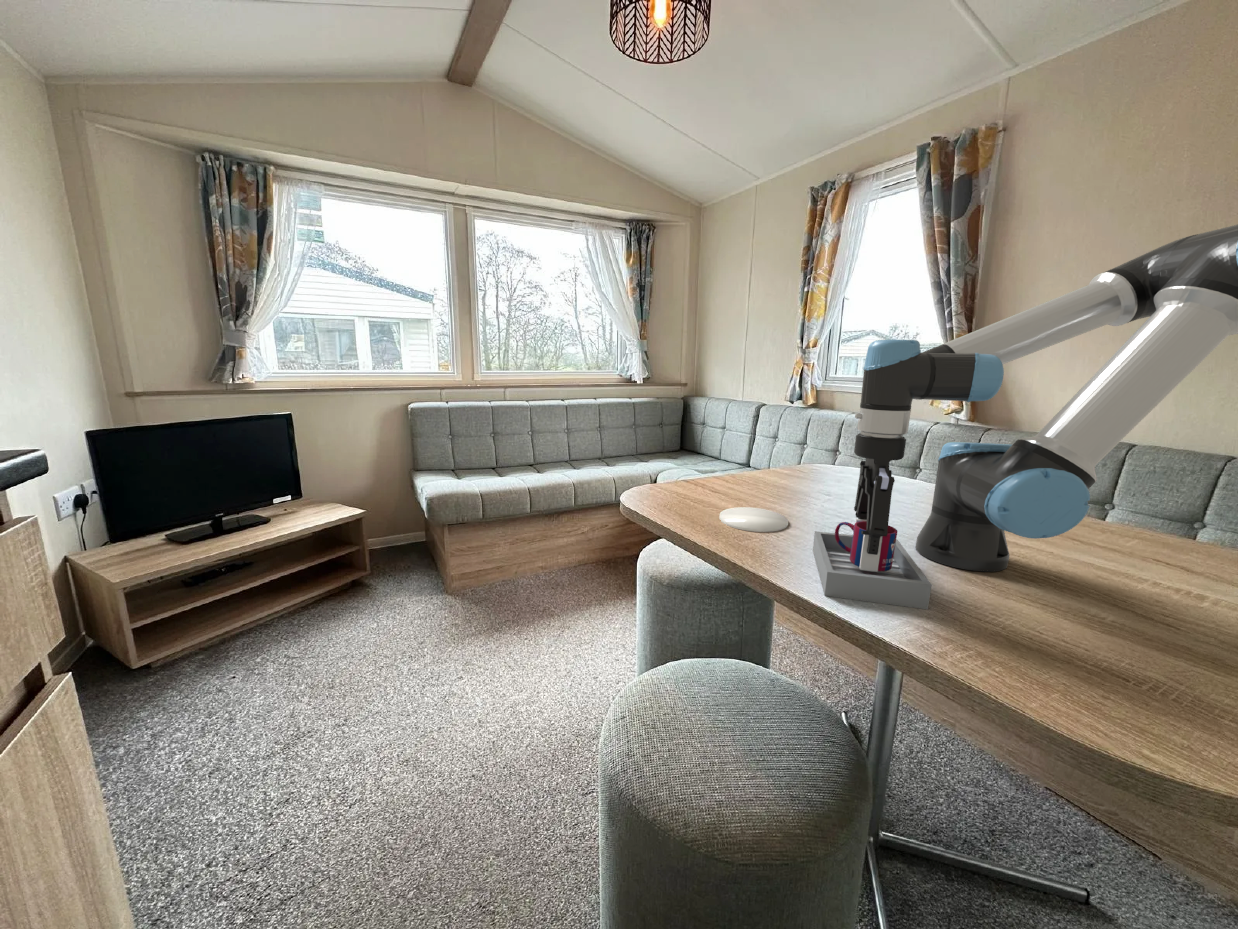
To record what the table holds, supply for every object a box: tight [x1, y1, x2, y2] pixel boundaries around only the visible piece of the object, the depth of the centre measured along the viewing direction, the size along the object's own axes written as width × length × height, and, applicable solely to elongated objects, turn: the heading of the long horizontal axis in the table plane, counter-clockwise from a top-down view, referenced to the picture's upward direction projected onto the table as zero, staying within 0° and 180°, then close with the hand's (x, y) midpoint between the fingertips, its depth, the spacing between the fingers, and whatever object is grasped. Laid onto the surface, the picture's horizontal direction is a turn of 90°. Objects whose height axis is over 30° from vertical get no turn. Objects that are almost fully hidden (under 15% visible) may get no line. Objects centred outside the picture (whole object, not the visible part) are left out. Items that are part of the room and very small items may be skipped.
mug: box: [834, 521, 898, 571], centre depth 87 cm, size 7×10×7 cm
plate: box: [718, 506, 789, 533], centre depth 117 cm, size 16×16×1 cm
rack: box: [812, 530, 933, 610], centre depth 86 cm, size 15×20×4 cm
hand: (863, 561), depth 86 cm, fingers closed on mug, 7 cm apart
